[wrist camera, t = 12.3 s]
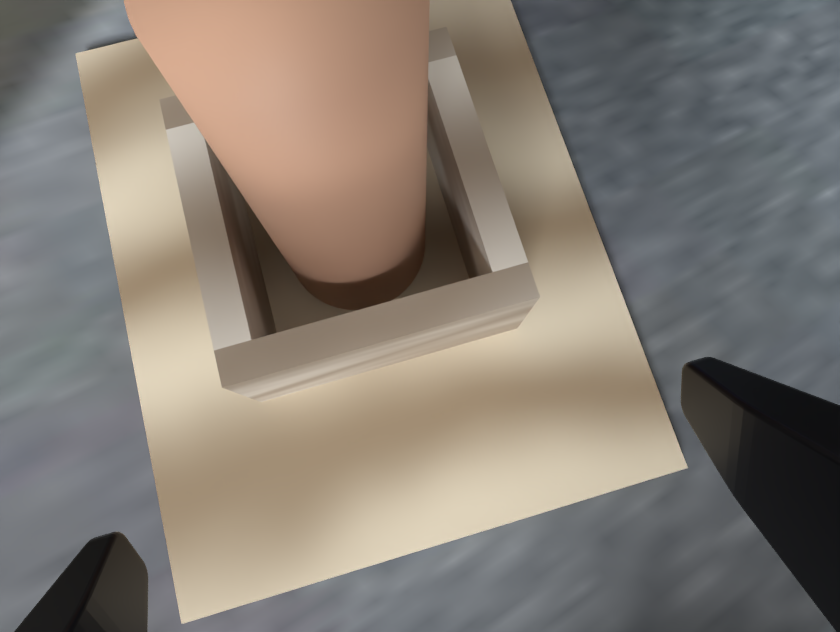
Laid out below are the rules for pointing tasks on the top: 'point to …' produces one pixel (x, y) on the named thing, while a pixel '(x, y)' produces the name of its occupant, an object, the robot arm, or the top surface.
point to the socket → (370, 337)
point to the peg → (311, 126)
